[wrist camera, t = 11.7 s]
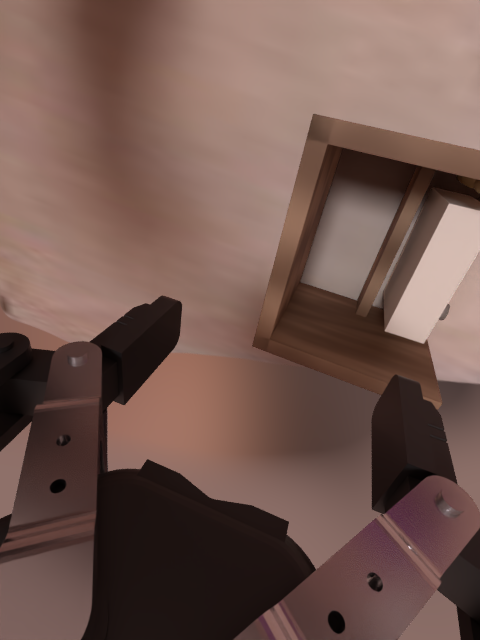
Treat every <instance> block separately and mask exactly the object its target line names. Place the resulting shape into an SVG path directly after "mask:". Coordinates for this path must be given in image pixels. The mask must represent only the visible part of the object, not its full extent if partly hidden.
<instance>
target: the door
mask: <svg viewBox="0 0 480 640" xmlns="http://www.w3.org/2000/svg"><path fill="white" fill-rule="evenodd" d="M479 251H480V202H479V201H478V200H476V199H475V198H473V197H472V196H469V195H465V194H460V193H456V192H452V191H447V190H443V189H439V188H434V187H432V188H431V190H430V192H429V195H428V197H427V199H426V201H425V203H424V205H423V207H422V210H421V212H420V214H419V216H418V218H417V220H416V222H415V225H414V227H413V229H412V231H411V233H410V235H409V238H408V240H407V242H406V244H405V246H404V248H403V250H402V253H401V255H400V257H399V259H398V261H397V263H396V265H395V268H394V270H393V272H392V274H391V276H390V278H389V280H388V283H387V285H386V287H385V289H384V291H383V300H384V328H385V331H386V332H389V333H392V334H395V335H398V336H401V337H404V338H407V339H410V340H413V341H417V342H420V343H423V344H424V343H425V341H426V339H427V338H428V336H429V334H430V333H431V331H432V329H433V328H434V326H435V324H436V323H437V321H438V319H439V320H444V319H445V317H446V316H447V314H448V312H449V308H450V305H449V304H448V303H449V301H450V299H451V298H452V296H453V294H454V293H455V291H456V289H457V288H458V286H459V284H460V283H461V281H462V279H463V278H464V276H465V274H466V273H467V271H468V269H469V268H470V266H471V264H472V263H473V261H474V259H475V258H476V256H477V254H478V253H479Z"/></svg>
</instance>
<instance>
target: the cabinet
mask: <svg viewBox="0 0 480 640" xmlns="http://www.w3.org/2000/svg"><path fill="white" fill-rule="evenodd" d="M343 148H347V149H351V150H355V151H359V152H364V153H368V154H372V155H376V156H380V157H385V158H389V159H393V160H397V161H402V162H406V163H410V164H414V165H417V167H416V170H415V172H414V174H413V176H412V179H411V181H410V183H409V185H408V188H407V190H406V192H405V194H404V197H403V199H402V201H401V203H400V206H399V208H398V210H397V212H396V215H395V217H394V219H393V221H392V224H391V226H390V228H389V230H388V233H387V235H386V237H385V239H384V242H383V244H382V246H381V248H380V251H379V253H378V255H377V257H376V260H375V262H374V264H373V266H372V269H371V271H370V273H369V275H368V278H367V280H366V282H365V284H364V287H363V289H362V291H361V293H360V296H359V298H358V300H357V301H356V300H353V299H350V298H347V297H344V296H341V295H338V294H335V293H331V292H328V291H325V290H322V289H319V288H316V287H313V286H310V285H307V284H304V283H301V282H300V280H301V277H302V274H303V271H304V268H305V265H306V261H307V258H308V255H309V252H310V249H311V246H312V243H313V240H314V236H315V233H316V230H317V227H318V224H319V221H320V218H321V215H322V211H323V208H324V205H325V202H326V199H327V196H328V193H329V190H330V187H331V183H332V180H333V177H334V174H335V171H336V168H337V165H338V162H339V158H340V155H341V152H342V149H343ZM436 170H440V171H444V172H448V173H452V174H456V178H457V180H458V181H459V182H461V183H462V184H464V185H466V186H467V187H469V188H474V189H475V191H476V192H478V193H479V194H480V151H479V150H475V149H470V148H466V147H461V146H457V145H452V144H448V143H443V142H439V141H434V140H429V139H425V138H420V137H416V136H411V135H407V134H402V133H398V132H393V131H389V130H384V129H380V128H375V127H371V126H366V125H361V124H357V123H352V122H348V121H343V120H339V119H334V118H330V117H325V116H321V115H316V114H313V117H312V120H311V124H310V128H309V132H308V136H307V139H306V143H305V147H304V151H303V155H302V158H301V162H300V166H299V170H298V174H297V177H296V181H295V185H294V189H293V193H292V197H291V200H290V204H289V208H288V212H287V216H286V219H285V223H284V227H283V231H282V235H281V238H280V242H279V246H278V250H277V254H276V257H275V261H274V265H273V269H272V273H271V276H270V280H269V284H268V288H267V292H266V296H265V299H264V303H263V307H262V311H261V315H260V318H259V322H258V326H257V330H256V334H255V337H254V341H253V345H252V346H253V347H256V348H258V349H261V350H264V351H266V352H269V353H272V354H274V355H277V356H279V357H282V358H285V359H287V360H290V361H293V362H295V363H298V364H301V365H303V366H306V367H309V368H311V369H314V370H316V371H319V372H322V373H325V374H327V375H330V376H332V377H335V378H338V379H340V380H343V381H345V382H348V383H351V384H353V385H356V386H359V387H361V388H364V389H367V390H369V391H372V392H375V393H377V394H380V395H382V394H383V392H384V390H385V389H386V387H387V385H388V383H389V382H390V380H391V378H392V377H393V376H394V375H395V374H397V375H400V376H403V377H406V378H409V379H412V380H415V381H418V382H419V383H420V385H421V390H422V395H423V399H424V400H427V401H430V402H432V403H433V405H434V406H435V408H436V409H437V410H438V409H439V407H440V406H441V405H442V400H441V395H440V391H439V387H438V383H437V379H436V375H435V371H434V366H433V362H432V358H431V354H430V350H429V346H428V341H427V339H426V341H425V343H424V344H423V343H420V342H417V341H413V340H410V339H407V338H404V337H401V336H398V335H395V334H392V333H389V332H386V331H385V328H384V310H383V309H380V308H377V307H374V306H372V304H373V302H374V300H375V297H376V295H377V293H378V291H379V289H380V287H381V285H382V283H383V281H384V279H385V276H386V274H387V272H388V270H389V268H390V266H391V264H392V262H393V260H394V258H395V255H396V253H397V251H398V249H399V247H400V245H401V243H402V241H403V239H404V237H405V234H406V232H407V230H408V228H409V226H410V224H411V222H412V220H413V218H414V216H415V214H416V211H417V209H418V207H419V205H420V203H421V201H422V199H423V197H424V195H425V193H426V190H427V188H428V186H429V184H430V182H431V180H432V178H433V176H434V174H435V172H436ZM478 201H479V202H480V197H479V199H478Z"/></svg>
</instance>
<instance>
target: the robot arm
mask: <svg viewBox="0 0 480 640" xmlns="http://www.w3.org/2000/svg"><path fill="white" fill-rule="evenodd" d="M181 313H182V303H181V302H180V301H178V300H175V299H172V298H169V297H166V296H160V297H159V298H158V299H157V300H155V301H154V302H153V303H152V304H150V305H149V304H143V305H140V306H137V307H134V308H133V309H131V310H130V311H129V312H127V313H126V314H125V315H124V317H123V316H122V317H121V318H120V319H118V320H117V322H115V323H113V324H112V325H111V326H109V327H108V328H107V329H106V330H104V331H103V332H102V333H100V334H99V335H98V336H97V337H95V338H94V339H93V340H91V341H90V342H83V341H82V342H73V343H69V344H66V345H64V346H62V347H60V348H59V349H57V350H56V351H50V350H41V349H32V348H31V346H30V341H29V339H28V338H27V337H26V336H25V335H22V334H19V333H1V334H0V451H1V450H2V449H3V448H4V447H5V446H6V445H8V444H9V443H10V442H11V441H12V440H13V439H14V438H15V437H16V436H17V435H18V434H19V433H20V432H21V431H22V430H23V429H24V428H25V427H26V426H27V425H28V424H29V423H30V422H31V421H32V423H31V428H30V433H29V437H28V442H27V447H26V451H25V456H24V461H23V465H22V470H21V475H20V479H19V484H18V489H17V493H16V498H15V502H14V507H13V511H12V514H10V515H7V516H5V517H3V518H1V519H0V640H398V638H399V637H400V636H401V635H402V633H403V632H404V631H405V630H406V628H407V627H408V626H409V625H410V623H411V622H412V621H413V619H414V618H415V617H416V616H417V614H418V613H419V612H420V610H421V609H422V608H423V607H424V605H425V604H426V603H427V602H428V600H429V599H430V598H431V596H432V595H433V594H434V593H435V591H436V590H438V591H439V592H440V593H442V594H443V595H444V596H445V597H447V598H448V599H449V600H450V601H452V602H453V603H454V604H456V605H457V613H458V621H459V628H460V636H461V640H480V512H479V509H478V507H477V505H476V504H475V502H474V501H473V499H472V498H471V497H470V496H469V494H468V493H467V492H466V491H465V490H464V489H462V488H461V487H460V486H459V485H458V484H457V480H456V476H455V472H454V468H453V464H452V459H451V455H450V451H449V447H448V443H446V441H447V439H446V435H445V432H444V426H443V422H442V418H441V415H440V414H439V412H438V411H437V409H436V408H435V406H434V405H433V403H432V402H430V401H427V400H424V399H423V395H422V390H421V385H420V383H419V382H418V381H415V380H412V379H409V378H406V377H403V376H400V375H397V374H395V375H394V376H393V377H392V378H391V380H390V382H389V383H388V385H387V387H386V389H385V390H384V392H383V394H382V395H381V397H380V399H379V401H378V402H377V404H376V406H375V409H374V411H373V415H372V509H373V510H375V511H377V512H380V513H382V514H384V515H382V514H381V515H379V516H378V517H377V518H375V519H374V520H373V521H372V522H371V523H370V524H368V525H367V526H366V527H365V528H364V529H363V530H362V531H360V532H359V533H358V534H357V535H356V536H355V537H354V538H353V539H351V540H350V541H349V542H348V543H347V544H346V545H344V546H343V547H342V548H341V549H340V550H339V551H337V552H336V553H335V554H334V555H333V556H332V557H331V558H330V559H328V560H327V561H326V562H325V563H324V564H323V565H322V566H320V567H319V568H318V569H317V570H316V569H315V567H314V565H313V564H312V562H311V561H310V559H309V558H308V556H307V555H306V554H305V553H304V551H303V550H302V549H301V548H300V547H299V546H298V545H297V544H296V543H295V542H294V541H293V540H292V539H291V538H290V537H289V536H288V535H286V534H287V529H288V524H289V522H288V521H286V520H284V519H281V518H279V517H277V516H274V515H272V514H270V513H268V512H265V511H263V510H261V509H259V508H256V507H254V506H252V505H246V504H239V503H233V502H227V501H221V500H214V499H211V498H209V497H208V496H207V495H205V494H204V493H203V492H202V491H201V490H199V489H198V488H197V487H196V486H194V485H193V484H192V483H191V482H189V481H188V480H187V479H186V478H185V477H183V476H182V475H181V474H180V473H177V472H175V471H173V470H171V469H168V468H166V467H164V466H162V465H159V464H157V463H155V462H153V461H150V460H146V462H145V463H144V465H143V466H142V468H141V469H119V470H113V471H108V461H107V407H108V406H109V405H110V404H111V403H112V402H113V401H115V402H117V403H120V404H122V405H125V404H126V403H127V402H128V401H129V399H130V398H131V397H132V396H133V395H134V394H135V393H136V391H137V390H138V389H139V388H140V387H141V386H142V384H143V383H144V382H145V381H146V380H147V379H148V378H149V376H150V375H151V374H152V373H153V372H154V371H155V370H156V369H157V367H158V366H159V365H160V364H161V363H162V362H163V360H164V359H165V358H166V357H167V356H168V355H169V354H170V352H171V351H172V350H173V349H174V348H175V346H176V344H177V342H178V340H179V336H180V326H181Z"/></svg>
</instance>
